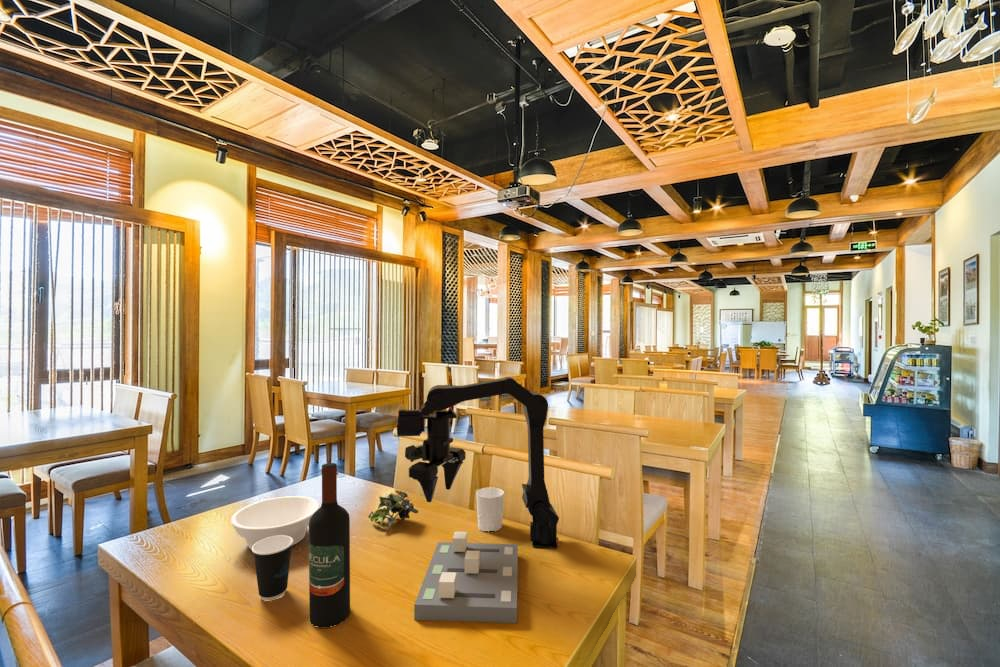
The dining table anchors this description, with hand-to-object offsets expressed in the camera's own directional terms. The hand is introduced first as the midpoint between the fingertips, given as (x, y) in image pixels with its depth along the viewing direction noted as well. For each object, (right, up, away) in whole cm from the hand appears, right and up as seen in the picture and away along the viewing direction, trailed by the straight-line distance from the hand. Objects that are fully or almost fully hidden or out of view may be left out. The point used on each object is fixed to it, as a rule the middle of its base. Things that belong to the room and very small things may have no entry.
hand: (438, 495), depth 115 cm
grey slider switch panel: (+10, -14, -16) cm, 23 cm away
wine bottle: (-18, -14, -26) cm, 35 cm away
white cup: (+13, -14, +12) cm, 22 cm away
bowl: (-44, -14, +4) cm, 46 cm away
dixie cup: (-33, -14, -20) cm, 41 cm away
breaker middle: (+10, -11, -16) cm, 21 cm away
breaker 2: (+6, -10, -7) cm, 14 cm away
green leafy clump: (-15, -14, +14) cm, 24 cm away
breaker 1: (+5, -11, -25) cm, 27 cm away
